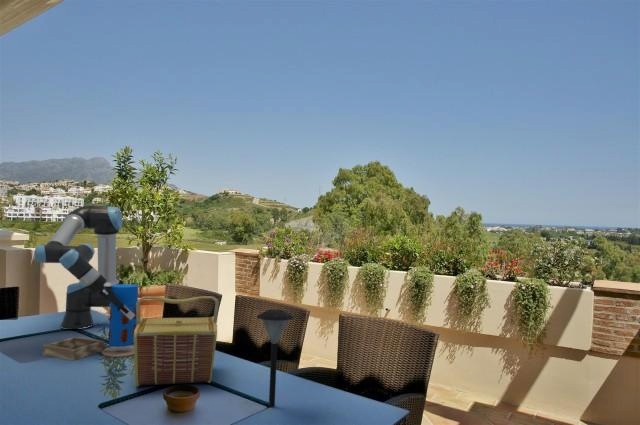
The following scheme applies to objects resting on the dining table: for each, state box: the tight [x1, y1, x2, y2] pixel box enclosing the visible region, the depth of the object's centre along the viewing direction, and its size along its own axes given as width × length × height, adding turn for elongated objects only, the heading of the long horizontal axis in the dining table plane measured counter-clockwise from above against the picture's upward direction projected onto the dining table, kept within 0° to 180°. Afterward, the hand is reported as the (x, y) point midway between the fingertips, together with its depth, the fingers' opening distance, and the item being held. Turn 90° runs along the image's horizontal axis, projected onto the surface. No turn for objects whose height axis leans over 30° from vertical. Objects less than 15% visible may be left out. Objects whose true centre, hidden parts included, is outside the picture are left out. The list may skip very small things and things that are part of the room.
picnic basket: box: [133, 295, 220, 387], centre depth 170 cm, size 29×26×30 cm
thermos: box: [108, 283, 139, 347], centre depth 201 cm, size 11×11×25 cm
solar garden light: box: [256, 309, 295, 408], centre depth 148 cm, size 12×12×30 cm
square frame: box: [42, 336, 106, 361], centre depth 197 cm, size 16×16×4 cm
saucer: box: [101, 345, 134, 358], centre depth 201 cm, size 16×16×1 cm
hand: (130, 315), depth 203 cm, fingers closed on thermos, 11 cm apart
